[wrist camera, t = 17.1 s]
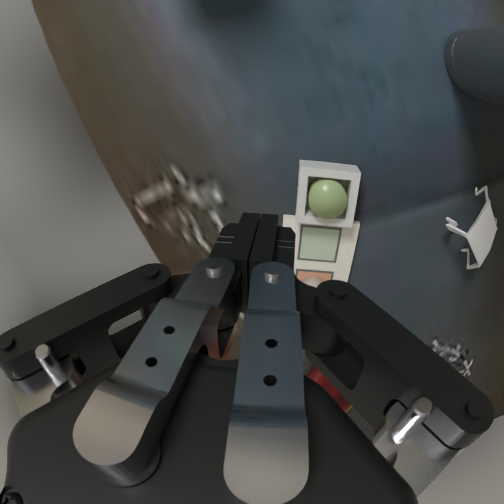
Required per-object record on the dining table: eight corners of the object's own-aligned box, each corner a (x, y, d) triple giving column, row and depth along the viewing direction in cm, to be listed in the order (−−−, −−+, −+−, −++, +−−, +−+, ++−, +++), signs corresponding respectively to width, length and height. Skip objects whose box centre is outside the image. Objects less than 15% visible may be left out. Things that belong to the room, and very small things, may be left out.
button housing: (356, 165, 35) (361, 173, 33) (348, 216, 39) (352, 227, 36) (299, 159, 36) (299, 166, 33) (295, 211, 40) (295, 222, 37)
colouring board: (359, 221, 39) (360, 224, 38) (341, 301, 47) (341, 306, 46) (283, 214, 40) (283, 217, 39) (277, 296, 48) (277, 301, 47)
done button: (346, 176, 35) (349, 185, 33) (341, 209, 38) (344, 220, 35) (309, 173, 36) (310, 181, 33) (306, 206, 38) (307, 217, 36)
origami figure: (434, 198, 36) (449, 214, 31) (482, 179, 33) (500, 193, 28) (447, 265, 41) (458, 285, 37) (490, 247, 38) (504, 265, 34)
